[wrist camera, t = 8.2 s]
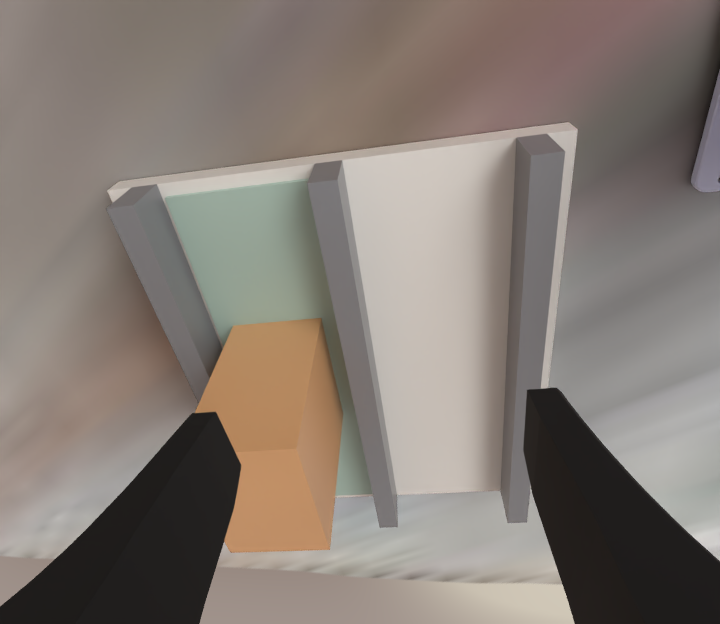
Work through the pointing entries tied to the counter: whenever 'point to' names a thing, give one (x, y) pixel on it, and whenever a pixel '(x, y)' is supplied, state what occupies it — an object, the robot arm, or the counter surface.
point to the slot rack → (379, 291)
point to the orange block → (279, 433)
